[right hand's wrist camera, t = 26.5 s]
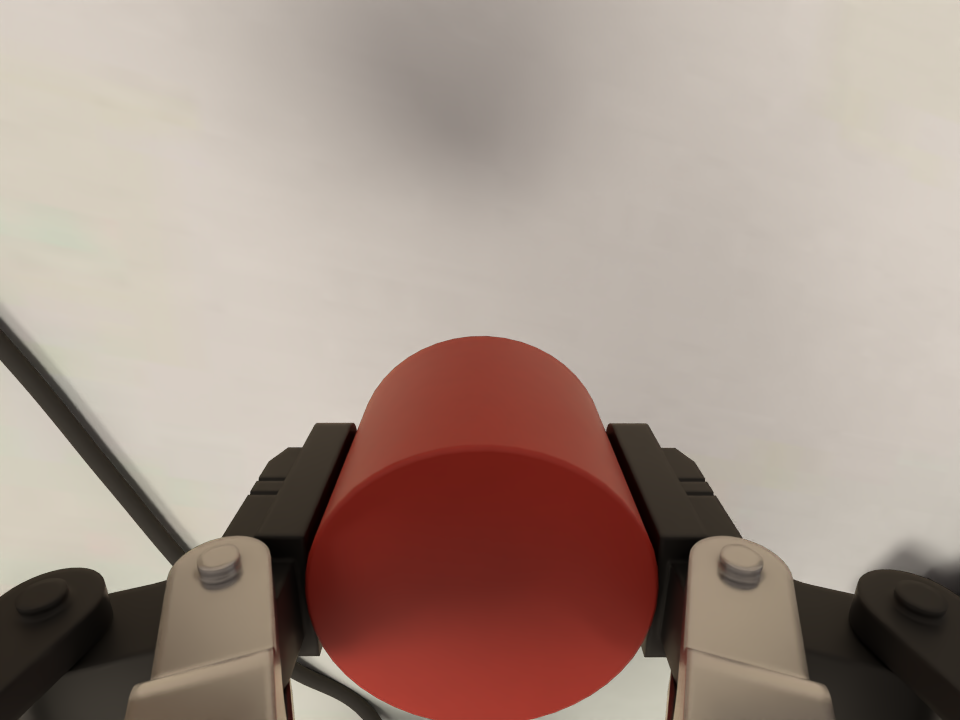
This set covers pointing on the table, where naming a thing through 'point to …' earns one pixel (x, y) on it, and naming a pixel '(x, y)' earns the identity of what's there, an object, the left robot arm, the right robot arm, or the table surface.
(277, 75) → the table surface
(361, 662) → the can
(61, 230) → the table surface
